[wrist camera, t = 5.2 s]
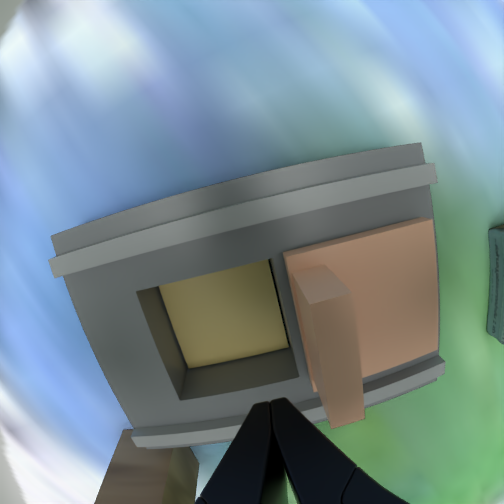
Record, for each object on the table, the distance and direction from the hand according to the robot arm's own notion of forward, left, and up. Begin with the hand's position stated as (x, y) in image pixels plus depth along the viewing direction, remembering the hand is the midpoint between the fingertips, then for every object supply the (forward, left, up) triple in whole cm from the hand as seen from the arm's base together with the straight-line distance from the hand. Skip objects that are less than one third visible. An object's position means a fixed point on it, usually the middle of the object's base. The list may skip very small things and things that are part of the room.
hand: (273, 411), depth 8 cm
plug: (-9, +9, -8) cm, 15 cm away
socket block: (0, 0, -8) cm, 8 cm away
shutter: (0, -5, -5) cm, 7 cm away
